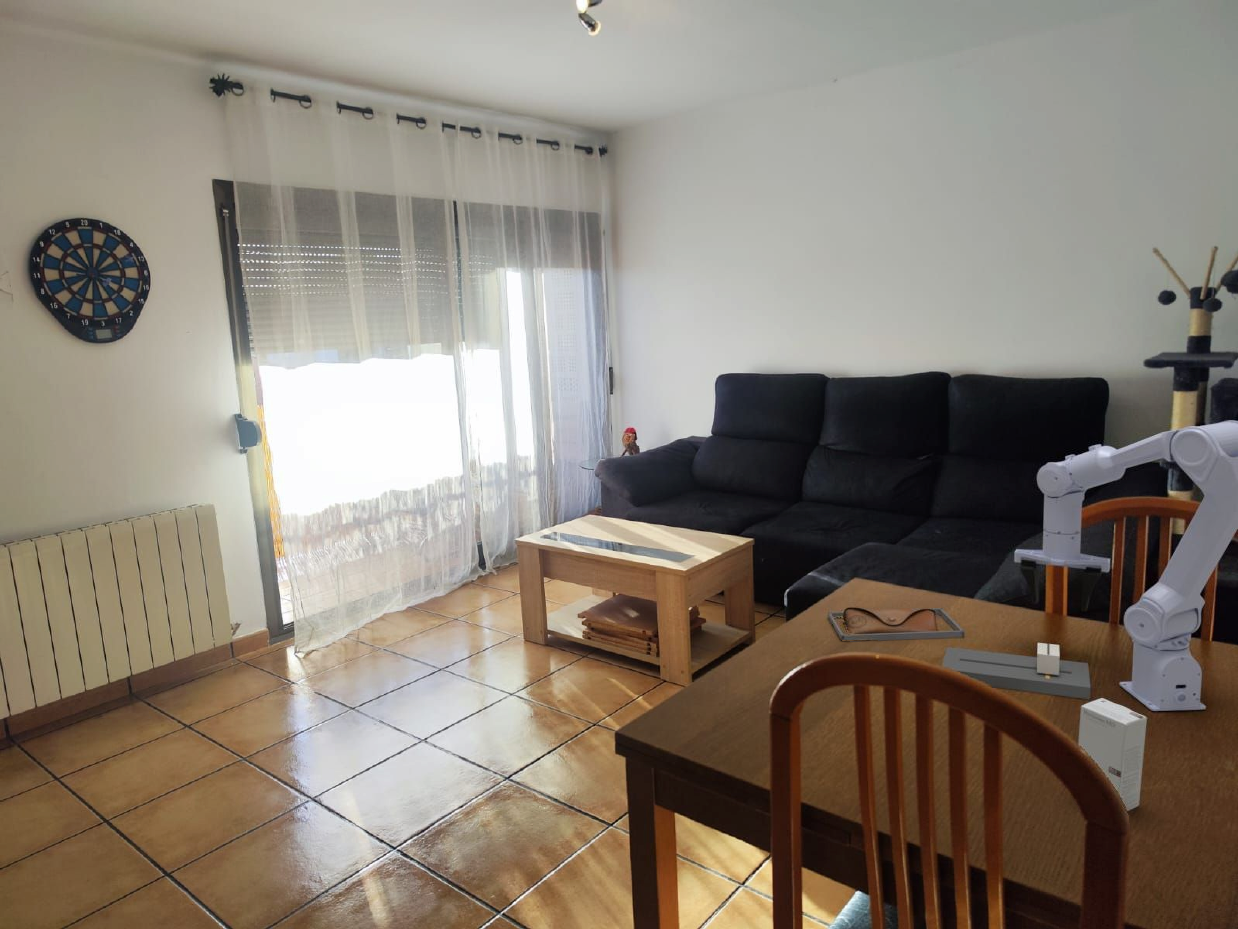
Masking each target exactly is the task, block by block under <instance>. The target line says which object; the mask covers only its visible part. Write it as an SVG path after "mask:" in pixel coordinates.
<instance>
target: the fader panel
mask: <svg viewBox="0 0 1238 929" xmlns="http://www.w3.org/2000/svg"><path fill="white" fill-rule="evenodd" d="M942 666H943V667H948V668H950V669H952V670H955V671H958V672H960V673H962V674H965V675H968V676H969V677H971V678H975V679H977V680H979V681H982V682H985V683H986V684H989V685H991V686H992V687H991V688H999V689H1006V690H1007V689H1008V690H1015V691H1021V692H1029V693H1036V694H1037V693H1038V694H1043V695H1044V694H1045V695H1051V696H1059V697H1060V696H1061V697H1066V698H1067V697H1068V698H1074V699H1081V700H1083V699H1084V700H1089V701H1090V700H1091V691H1092V690H1091V678H1090V669H1089V663H1088V662H1081V661H1080V662H1079V661H1072V660H1071V661H1070V660H1064V659H1063V660H1062V659H1059V675H1054V674H1046V673H1038V672H1037V656H1028V655H1020V654H1011V653H1003V652H1002V653H1000V652H992V651H984V650H976V649H968V648H967V649H966V648H958V647H949V646H946V650H945V654H944V656H943V659H942V664H941V667H942Z"/></svg>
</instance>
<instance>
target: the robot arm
mask: <svg viewBox="0 0 1238 929" xmlns="http://www.w3.org/2000/svg"><path fill="white" fill-rule="evenodd" d="M1064 457H1065V459H1064V460H1062V461H1057V462H1054V461H1053V462H1047V463H1046V464H1045V465H1043V466H1041V467H1040V468H1039V469H1038V472H1037V473H1036V481H1037V482H1036V483H1037V487H1038V488H1039V489H1040V491H1041V492H1042V494H1044V495H1043V497H1044V498H1043V523H1042V524H1043V532H1042V533H1043V534H1042V549H1021V548H1016V550H1015V551H1014V557H1013V558H1014V560H1013V562H1014V563H1020V566H1019V570H1020V573H1021V575H1022V576H1023V578H1024V580H1025V582H1026V584H1027V587H1028V591H1029V593H1030V598H1031V604H1032V605H1037V604H1038V603H1039V601H1040V597H1039V596H1040V589H1039V588H1040V587H1039V586H1040V584H1039V582H1040V568H1041V567H1040V566H1041V565H1049V566H1058V567H1066V568H1075V569H1083V570H1084V571H1083V572H1082V598H1081V604H1080V605H1081V612H1087V610H1088V607H1089V603H1090V602H1089V601H1090V598H1091V595H1092V592H1093V589H1094V587H1095V586H1096V584H1097V583H1098V581H1099V579H1100V577H1101V575H1102V573H1109V572H1110V569H1111V558H1108V557H1101V556H1100V557H1099V556H1095V555H1091V554H1090V555H1089V554H1085V553H1081V540H1082V539H1081V537H1082V513H1083V512H1082V511H1083V510H1082V507H1083V501H1084V500H1085V493H1086V492H1087V490H1089V489H1092V488H1094V487H1098V486H1102V485H1104V484H1107V483H1112V482H1113V481H1114V482H1115V481H1118V480H1120V479H1121V478H1123V476H1124V474H1125V472H1126V469H1128V468H1131V467H1135V466H1139V465H1142V464H1147V463H1149V462H1153V461H1156V460H1160V459H1164V460H1165V461H1167V462H1171V463H1172V462H1175V463H1176V464H1177V465H1178V466H1179V467H1180V468H1181V470H1182V471H1184V473H1185V474H1186V475H1187V476H1188V477H1189V478H1190V479H1191V481H1192V482H1194V483H1195V485H1196V486H1197V487H1198V488H1199V489H1200V490H1201V491H1202V493H1203V495H1204V496H1203V499H1202V501H1201V502H1200V504H1199V506H1198V508H1197V510H1196V512H1195V514H1194V515H1193V516H1192V519H1191V521H1190V523H1189V525H1188V526H1187V528H1186V530H1185V531H1184V534H1183V535H1182V538H1181V539H1180V541H1179V543H1178V545H1177V546H1176V548H1175V551H1174V552H1173V555H1172V556H1171V558H1170V559H1169V561H1168V563H1167V565H1166V567H1165V568H1164V570H1163V573H1162V574H1161V576H1160V578H1159V580H1158V581H1157V583H1155V584H1154V585H1153V586H1151V587H1150V588H1149V589H1147V591H1145V592H1144V593H1143V594H1142V595H1141V597H1140V599H1139V600H1138V601H1137V602H1136V603H1135V604H1133V605H1131V606H1129V607H1128V608H1127V609H1126V611H1125V612H1124V615H1123V625H1124V628H1125V631H1126V633H1127V634H1128V635H1129V636H1130V637H1131V642H1132V643H1133V652H1132V672H1131V681H1120V682H1119V686H1120V687H1122V688H1123V689H1124V690H1125V691H1127V693H1129V694H1130V695H1131V696H1133V697H1134V698H1135V699H1137V701H1139V702H1140V703H1142V704H1143V705H1144V706H1146V707H1147V709H1148V710H1150V711H1153V712H1158V711H1161V712H1162V711H1192V710H1193V711H1197V710H1206V708H1207V706H1206V705H1205V704H1204V703H1202V702H1201V692H1202V691H1201V689H1202V677H1203V675H1202V674H1203V672H1202V667H1201V666H1200V663H1198V661H1197V660H1196V659H1195V658H1194V657H1193V655H1192V653H1191V651H1190V642H1191V640H1192V638H1191V637H1192V634H1193V633H1195V632H1196V631H1197V630H1198V629H1199V628H1200V626H1201V623H1202V609H1203V607H1204V605H1205V603H1206V601H1205V599H1204V598H1203V597H1202V596H1201V593H1202V591H1203V589H1204V588H1205V586H1206V584H1207V582H1208V580H1209V579H1210V577H1211V575H1213V574H1212V573H1213V572H1214V570H1215V568H1216V567H1217V565H1218V564H1219V562H1220V561H1221V558H1222V556H1223V555H1224V553H1225V552H1226V549H1227V548H1228V546H1229V544H1230V543H1231V541H1232V539H1233V538H1234V536H1235V533H1236V532H1237V530H1238V420H1230V419H1229V420H1224V421H1219V422H1217V423H1211V424H1205V425H1200V426H1198V425H1197V426H1196V425H1191V426H1186V427H1183V428H1180V429H1179V428H1178V429H1174V430H1168V431H1162V432H1160V433H1158V434H1155V435H1153V436H1150V437H1147V438H1144V439H1142V440H1139V441H1137V442H1134V443H1131V444H1129V445H1126V446H1124V447H1121V448H1118V449H1117V448H1115V447H1113V446H1110V445H1103V446H1102V444H1100V443H1099V444H1095V445H1091V446H1088V451H1086V452H1083V453H1081V454H1077V455H1075V454H1070V455H1066V456H1064Z"/></svg>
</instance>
